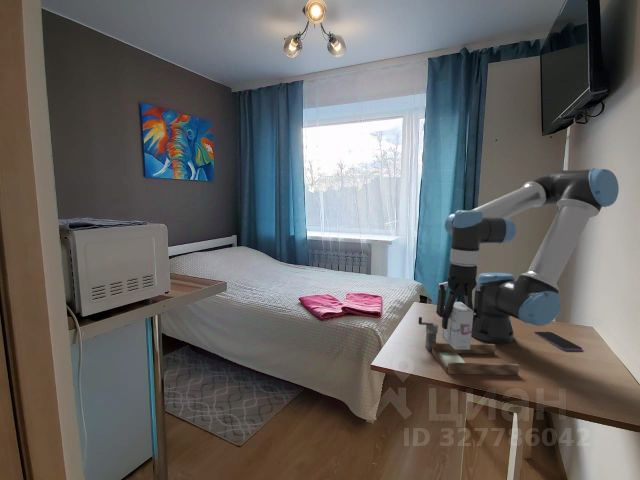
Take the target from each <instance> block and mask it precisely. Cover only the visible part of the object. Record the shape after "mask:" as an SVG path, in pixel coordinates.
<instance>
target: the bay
mask: <svg viewBox="0 0 640 480" xmlns="http://www.w3.org/2000/svg"><path fill="white" fill-rule="evenodd" d="M417 322H418V324H419V325H421V326H425V332H426V336H425V348H426V350H427V351H431V353H432V355H433V356H434V357H435V359H436V361H437V362H438V363H439V365H440V366H441V368H442V369H443V371H444V372H445V373H447V374H448V375H450V374H451V375H488V376H490V375H494V376H519V369H520V364H518V363H497V362H496V363H492V362H490V363H489V362H486V363H485V362H465V360H464V359H463V358H462V357H461V356H460V355H459V354H482V355H484V354H485V355H488V354H489V355H495V354H496V346H497V345H496V343H471V344H470V349H469V350H465V349H462V350H461V349H454V348H453V347H452V346H451V345H450V344H449V343H448V342H437V334H438V333H439V331H438V330H439V325H438V324H437V323H435V322H433V321H432V322H431V321H423V317H421V316H418V321H417Z"/></svg>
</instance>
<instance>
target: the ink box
mask: <svg viewBox="0 0 640 480" xmlns="http://www.w3.org/2000/svg"><path fill="white" fill-rule="evenodd" d="M473 310H474V309H473ZM473 310H472V309H470V308H469V307H468V306H466V305H465V303H464V302H461V301H455V303H454V306H453V308H452V311H451V314H450V317H449V318H450V319H451V330H450V340H449V341H447V340H446V339H445V338H444V329H443V328H442V330H443V331H442V339H444V340H445V341H446V343H449V344H450V345H451V346H452V347H453V348H454V349H461V350H462V349H465V350H469V349H470V344H472V343H471V342H472V336H471V334H472V323H473V314H474V311H473Z"/></svg>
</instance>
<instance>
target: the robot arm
mask: <svg viewBox="0 0 640 480" xmlns="http://www.w3.org/2000/svg"><path fill="white" fill-rule="evenodd" d="M619 190H620V189H619V181H618V178H617V176H616V174H615V173H614V172H613V171H611V170H609V169H607V168H589V169H573V170H572V169H567V170H565V169H564V170H557V171H554V172H549V173H547V174H543V175H541V176H539V177H537V178H534V179H532V180H530V181H527V182H525V183H524V184H523V185H522V186H521V188H519V189H515V190H514V191H511V192H509V193H507V194H504V195H502V196H500V197H498V198H496V199H493V200H491V201H489V202H487V203H485V204H482V205H480V206H478V207H476V208H473V209H470V210H466V209H465V210H463V209H461V210H456V211H455V212H454V213H451V214H450V215H448V216H447V217H446V218H445V221H444V228H445V231H446V233H448V234H449V235H451V245H450V255H449V256H450V257H449V261H450V263H449V266H448V277H447V279H446V281H445V282H439V281H438V283H437V289H438V293H437V303H436V311H435V313H436V315H437V316H438V317H440V318H441V319H442V320H441V328H442V330H443V329H444V338H445V339H446V340H447V341H449V340H450V330H451V319H450V318H449V317H450V314H451V311H452V308H453V306H454V303H455V302H456V300H457V299H458V297H459V296H463V299H464V304H465V305H466V306H468V307H469V308H470V309H472V310H473V311H474V314H473V323H472V334H471V337H473V338H474V339H478V340H480V341H482V342H483V341H484V342H487V343H490V344H499V345H500V344H509V343H510V344H511V343H512V342H513V341H514V335H515V334H514V329H513V326H512V320H511V317H512V318H514V319H517V320H519V321H522V322H523V323H525V324H530V325H532V326H536V327H543V326H546V325H548V324H551V322H553V321H554V320H555V319H556V318H557V316H559V314H560V312H561V309H562V305H561V304H562V299H561V296H559V292H560V289H559V287H558V285H557V283H558V281H559V280H560V278H561V276H562V274H563V271H564V269H565V268H566V265H567V263H568V262H569V260H570V258H571V256H572V253H573V252H574V250H575V247H576V246H577V244H578V241H579V240H580V238H581V237H582V234H583V232H584V230H585V228H586V226H587V224H588V222H589V220H590V219H591V218H593V217H596V216H598V215H599V214H600V212H601V210H602V209H603V208H607V207H610V206H612V205H613V204H614V203H615V202H616V201H617V198H618V195H619ZM544 205H556V206H557V207H558V210H557V212H556V214H555V217H554V218H553V220H552V222H551V224H550V227H549V228H548V230H547V233H546V234H545V236H544V238H543V240H542V242H541V243H540V246H539V248H538V249H537V252H536V253H535V256H534V258H533V260H532V262H531V263H530V265H529V268H528V269H527V271H526V272H523V273H520V274H519V276H518V278H517V279H516V278H515V275H514V274H512V273H507V272H481V273H480V274H479V275H478V276H477V273H478V266H477V265H478V263H479V253H480V245H481V244H504V243H509V242H511V241H512V240H514V238H515V237H516V233H517V226H516V223H514V221H513V220H512V219H511V218H510V217H513V216H515V215H517V214H520V213H522V212H524V211H526V210H529V209H530V208H539V207H541V206H544ZM515 279H516V280H515ZM448 288H449V292H448V297H447V300H446V295H447V294H446V292H447V290H448ZM473 290H475V291H474V299H472V298H473V295H472V291H473ZM473 301H474V302H473ZM473 303H474V304H473ZM444 338H443V339H444ZM445 339H444V340H445ZM446 340H445V341H446ZM447 341H446V342H447Z"/></svg>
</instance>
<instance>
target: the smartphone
mask: <svg viewBox="0 0 640 480" xmlns="http://www.w3.org/2000/svg"><path fill="white" fill-rule="evenodd" d="M533 333H535V335H536V336H537V335H538V336H537V337H539V338H541V339H543V340H545V341H546V342H547V343H549V344H550V345H553V346H554V347H556V348H557V349H559V350H562V351H565V352H567V351H569V352H570V351H571V352H572V351H573V352H580V351H583V347H581V346H580V345H577V344H575V343H574V342H571V341H570V340H567V339H566V338H564V337H562V336H560V335H558V334H555V333H554V332H552V331H533Z"/></svg>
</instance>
